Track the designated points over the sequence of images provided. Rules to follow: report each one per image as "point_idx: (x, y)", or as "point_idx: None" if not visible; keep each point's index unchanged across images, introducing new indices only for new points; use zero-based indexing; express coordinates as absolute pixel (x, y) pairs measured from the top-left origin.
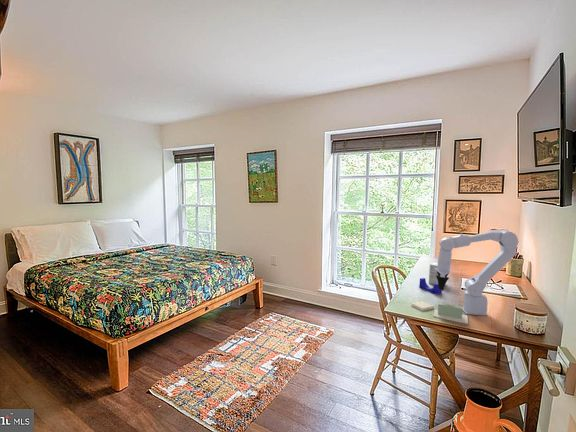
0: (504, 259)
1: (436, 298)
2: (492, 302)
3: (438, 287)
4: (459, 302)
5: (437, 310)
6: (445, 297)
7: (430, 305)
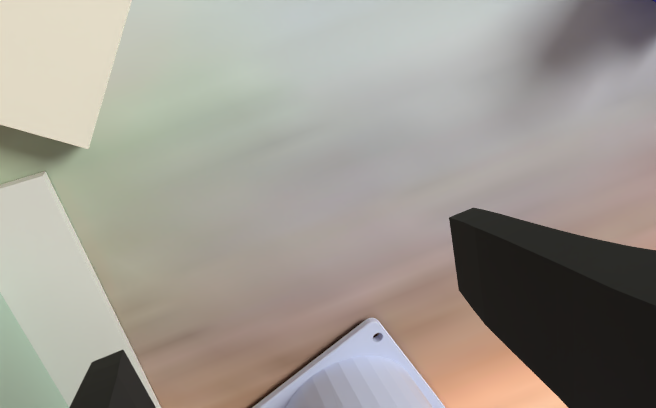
0: None
1: (485, 30)
2: None
3: (80, 386)
4: None
5: (21, 218)
6: (575, 100)
7: (59, 104)
